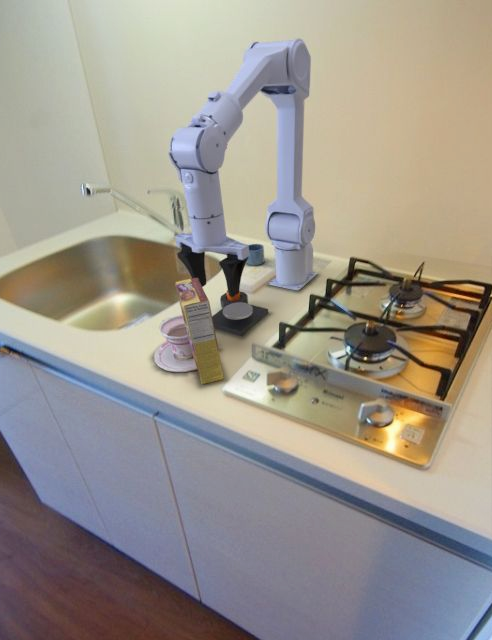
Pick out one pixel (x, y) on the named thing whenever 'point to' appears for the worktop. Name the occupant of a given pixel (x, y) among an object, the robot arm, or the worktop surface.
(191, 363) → the teacup
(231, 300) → the tare button
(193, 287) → the candy box
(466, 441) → the worktop surface
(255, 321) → the scale
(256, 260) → the blue cup
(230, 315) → the grey round disc
